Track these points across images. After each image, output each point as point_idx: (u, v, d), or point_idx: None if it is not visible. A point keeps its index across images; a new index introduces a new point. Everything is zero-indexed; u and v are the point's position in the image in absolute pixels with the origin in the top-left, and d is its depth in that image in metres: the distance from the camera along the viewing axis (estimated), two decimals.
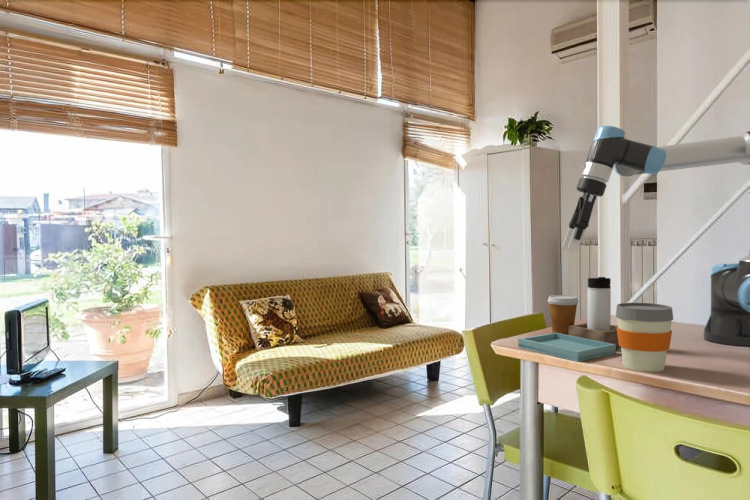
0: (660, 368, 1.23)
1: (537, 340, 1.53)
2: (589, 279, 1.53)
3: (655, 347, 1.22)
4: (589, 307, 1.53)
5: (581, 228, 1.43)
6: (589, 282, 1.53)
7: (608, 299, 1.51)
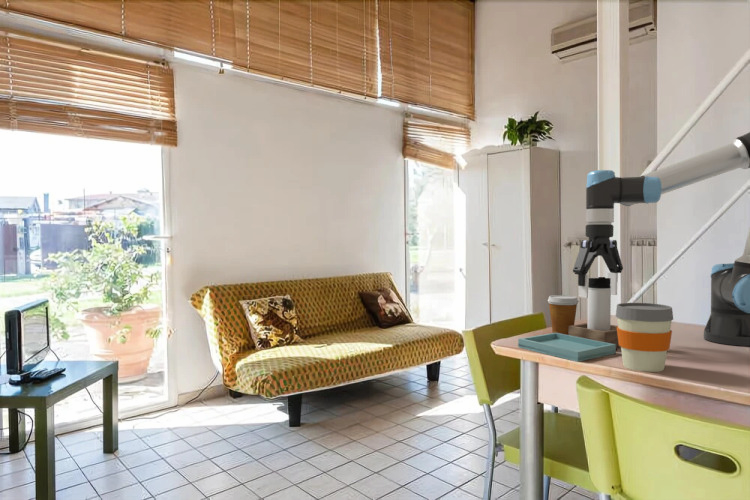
0: (660, 368, 1.23)
1: (537, 340, 1.53)
2: (589, 279, 1.53)
3: (655, 347, 1.22)
4: (589, 307, 1.53)
5: (580, 274, 1.48)
6: (589, 282, 1.53)
7: (608, 299, 1.51)
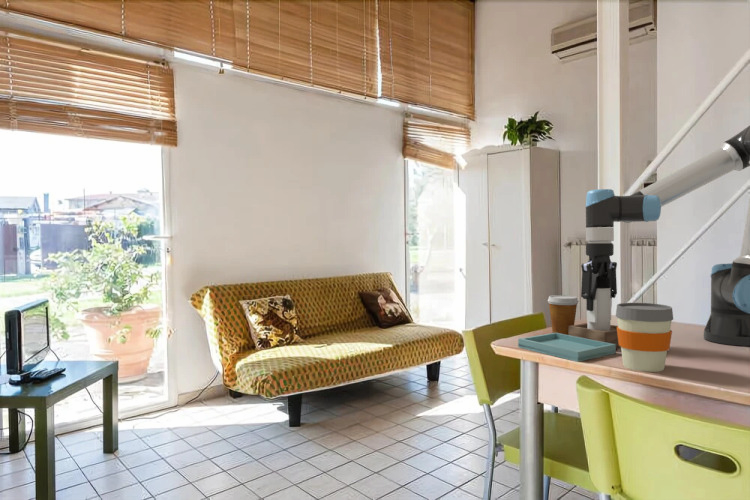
0: (660, 368, 1.23)
1: (537, 340, 1.53)
2: None
3: (655, 347, 1.22)
4: None
5: (588, 299, 1.50)
6: None
7: (608, 299, 1.51)
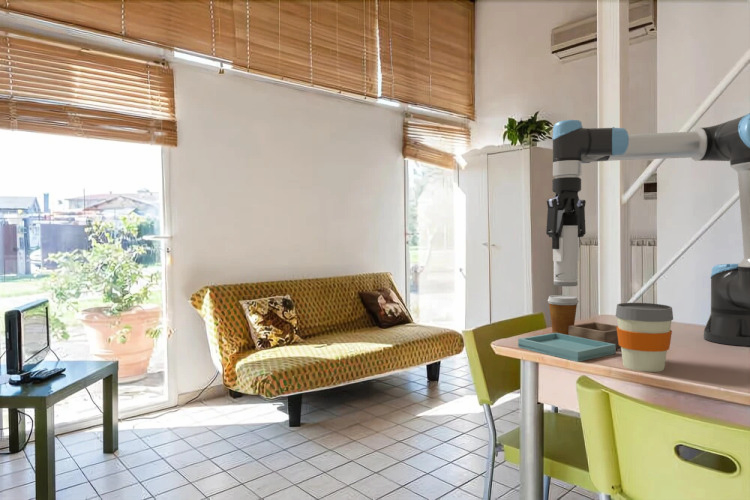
0: (660, 368, 1.23)
1: (537, 340, 1.53)
2: None
3: (655, 347, 1.22)
4: None
5: (554, 237, 1.42)
6: None
7: (575, 237, 1.42)
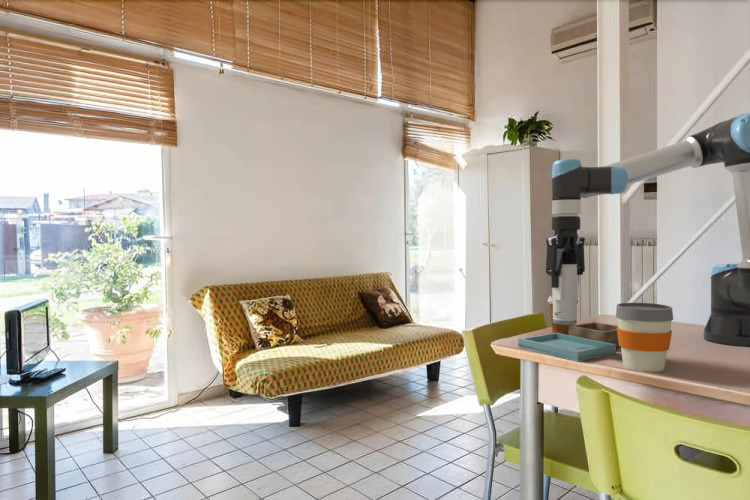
0: (660, 368, 1.23)
1: (537, 340, 1.53)
2: None
3: (655, 347, 1.22)
4: None
5: (553, 276, 1.42)
6: None
7: (574, 276, 1.42)
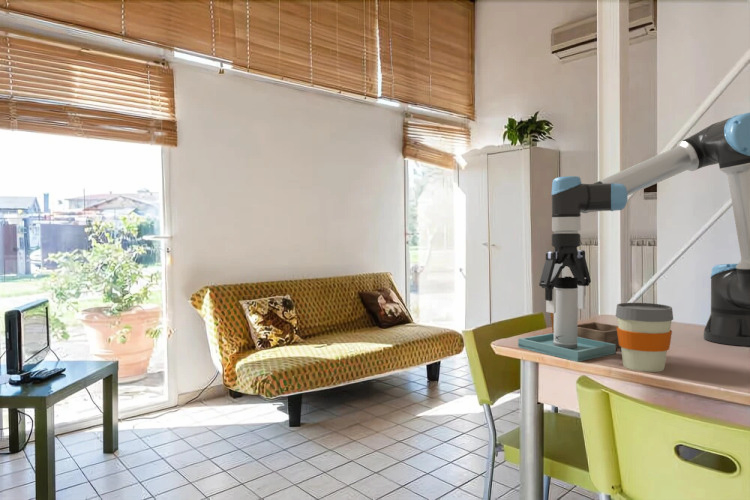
0: (660, 368, 1.23)
1: (537, 340, 1.53)
2: None
3: (655, 347, 1.22)
4: None
5: (547, 288, 1.41)
6: None
7: (575, 300, 1.42)
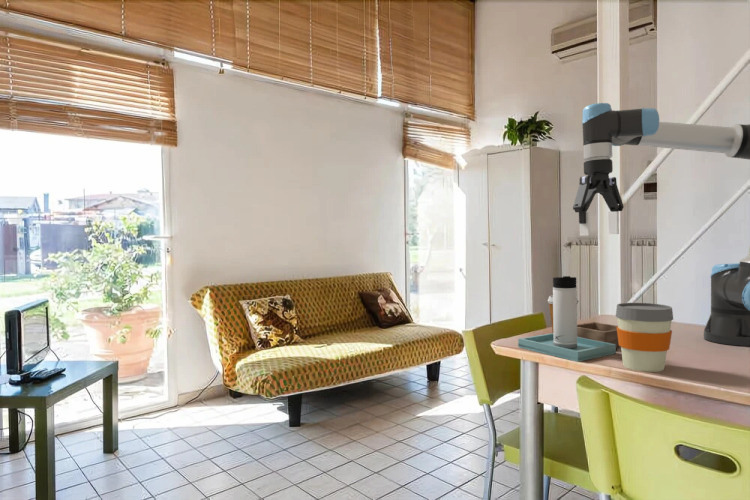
0: (660, 368, 1.23)
1: (537, 340, 1.53)
2: (554, 278, 1.45)
3: (655, 347, 1.22)
4: (554, 308, 1.45)
5: (580, 211, 1.43)
6: (554, 282, 1.45)
7: (574, 299, 1.43)
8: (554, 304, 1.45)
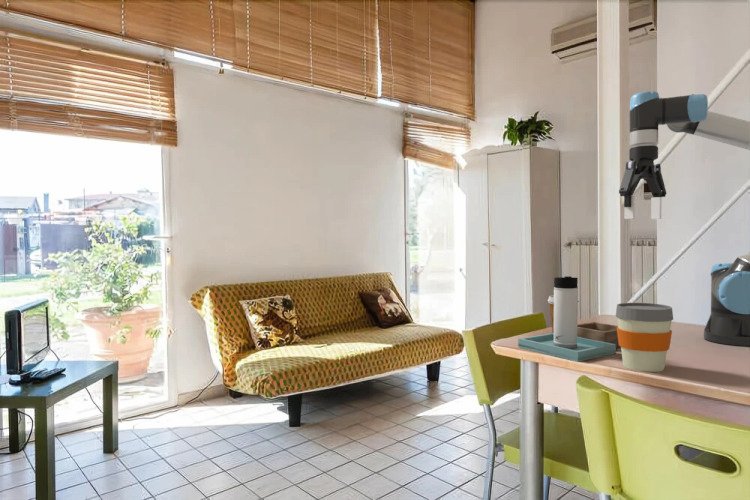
0: (660, 368, 1.23)
1: (537, 340, 1.53)
2: (555, 278, 1.44)
3: (655, 347, 1.22)
4: (555, 308, 1.45)
5: (626, 195, 1.49)
6: (555, 282, 1.45)
7: (575, 300, 1.43)
8: (555, 304, 1.45)
